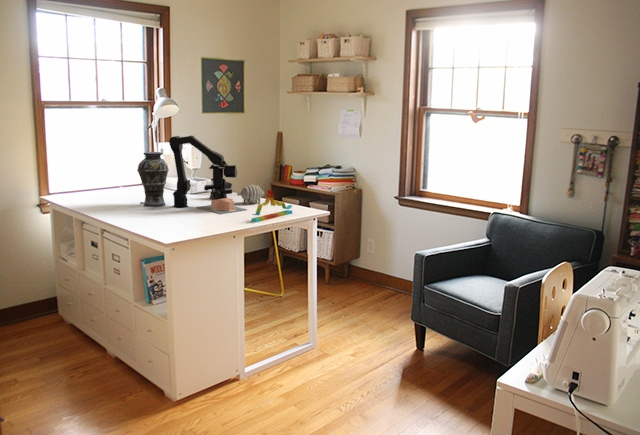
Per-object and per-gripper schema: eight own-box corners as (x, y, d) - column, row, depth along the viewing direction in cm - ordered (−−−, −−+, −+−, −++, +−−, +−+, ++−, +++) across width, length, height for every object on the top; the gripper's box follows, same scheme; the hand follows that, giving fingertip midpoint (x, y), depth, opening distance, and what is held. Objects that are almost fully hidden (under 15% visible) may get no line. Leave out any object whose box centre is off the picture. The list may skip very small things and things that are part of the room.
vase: (132, 206, 338) (130, 152, 332) (153, 201, 353) (152, 150, 347) (154, 209, 331) (152, 154, 325) (175, 204, 346) (174, 152, 340)
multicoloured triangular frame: (287, 213, 330) (288, 186, 327) (292, 214, 329) (292, 186, 325) (251, 222, 306) (251, 193, 303) (255, 222, 304) (256, 193, 301)
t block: (222, 211, 325) (222, 202, 324) (211, 209, 332) (211, 200, 331) (240, 209, 334) (240, 200, 333) (228, 206, 341) (228, 197, 340)
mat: (220, 214, 322) (220, 213, 322) (196, 207, 337) (196, 206, 337) (247, 210, 334) (247, 209, 334) (222, 204, 350) (222, 203, 350)
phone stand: (215, 200, 362) (215, 180, 360) (209, 199, 366) (209, 179, 364) (227, 198, 369) (227, 179, 366) (221, 197, 373) (221, 178, 370)
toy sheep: (267, 203, 355) (267, 185, 353) (241, 206, 346) (241, 187, 344) (259, 200, 364) (259, 182, 362) (234, 203, 355) (233, 184, 352)
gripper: (239, 177, 334) (239, 205, 337) (219, 173, 346) (219, 200, 350) (223, 179, 326) (223, 207, 329) (203, 175, 339) (203, 202, 342)
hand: (218, 204), depth 338 cm, fingers closed
